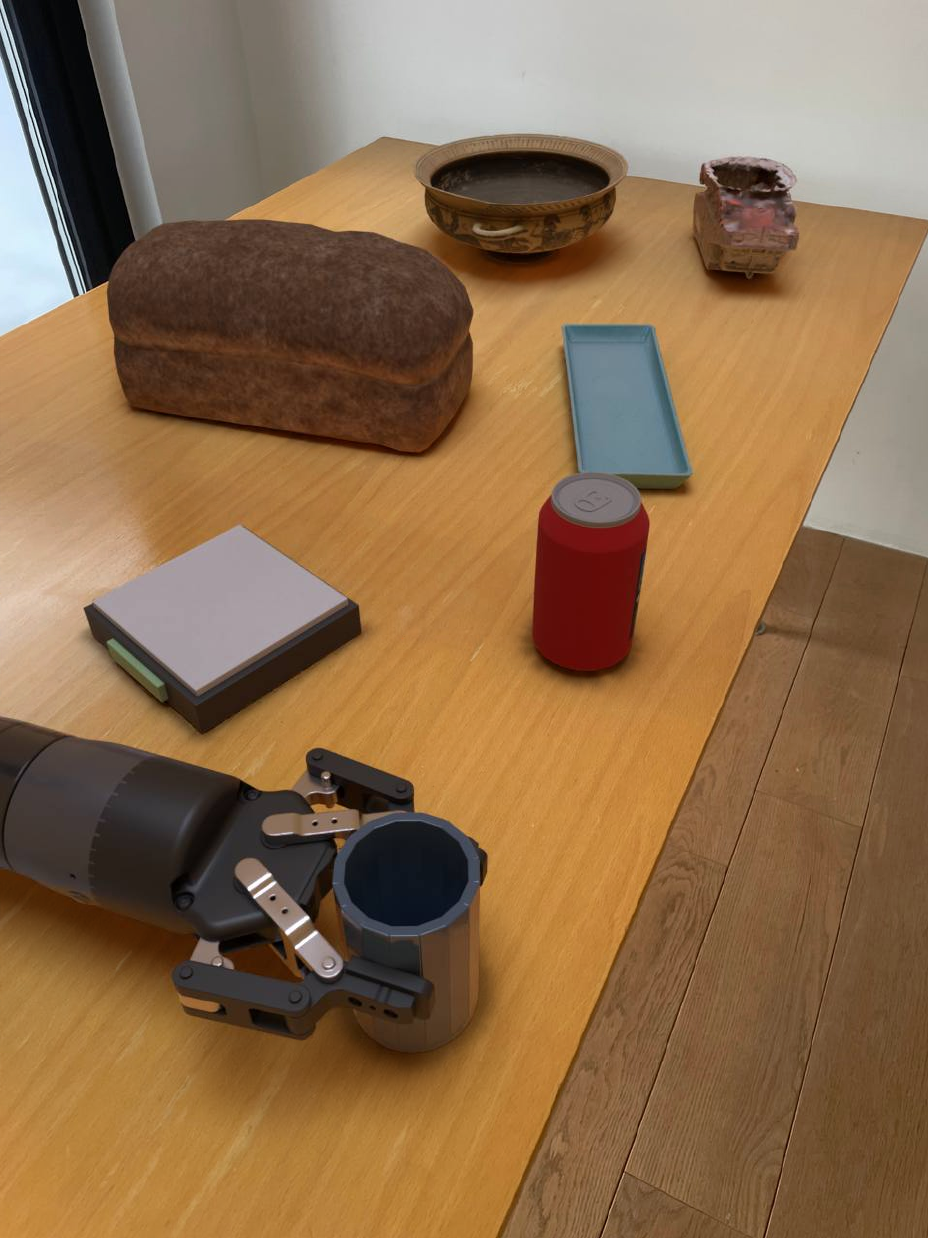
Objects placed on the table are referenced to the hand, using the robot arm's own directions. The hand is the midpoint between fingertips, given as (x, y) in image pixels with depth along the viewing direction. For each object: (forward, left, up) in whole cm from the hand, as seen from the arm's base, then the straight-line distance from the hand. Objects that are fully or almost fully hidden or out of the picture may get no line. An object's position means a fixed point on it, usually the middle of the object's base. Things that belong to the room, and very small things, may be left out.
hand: (459, 931), depth 44 cm
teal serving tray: (+50, +29, -7) cm, 59 cm away
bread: (+32, +52, -7) cm, 61 cm away
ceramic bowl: (+72, +61, -7) cm, 95 cm away
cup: (-1, +2, -7) cm, 7 cm away
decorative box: (+87, +39, -7) cm, 96 cm away
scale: (+8, +30, -7) cm, 32 cm away
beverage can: (+24, +12, -7) cm, 28 cm away
